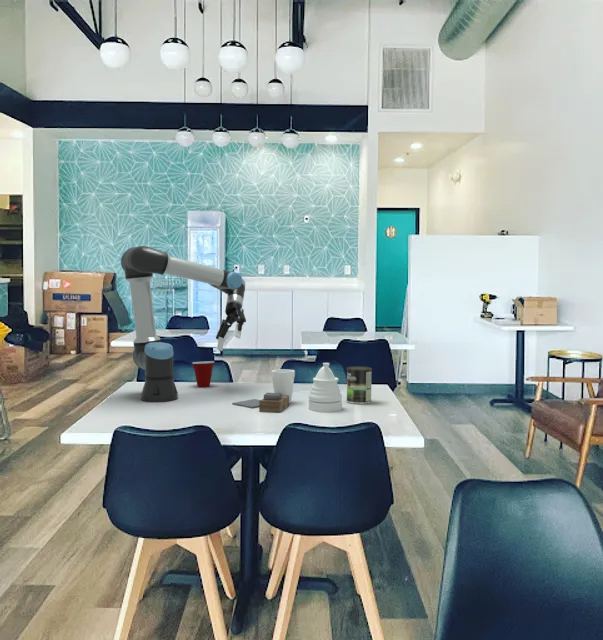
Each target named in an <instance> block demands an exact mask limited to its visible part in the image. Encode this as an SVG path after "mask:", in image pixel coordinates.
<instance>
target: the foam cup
mask: <svg viewBox="0 0 603 640" xmlns="http://www.w3.org/2000/svg"><path fill="white" fill-rule="evenodd" d="M295 376H296V370H294V369H288V368H287V369H285V368H284V369H282V368H279V369H273V370H271V377H272V378H271V379H272V386H273V393H282V395H287V396H289V404H292V398H293V390H294V382H295Z"/></svg>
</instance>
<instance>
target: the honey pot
mask: <svg viewBox="0 0 603 640" xmlns="http://www.w3.org/2000/svg"><path fill="white" fill-rule="evenodd" d="M339 379H340V378H338V377H336V376H335V375H334V373H333V371H332V369H331V368H330V362H322V367H320V368H319V370H318V371H317V373H316V375H315V377H313V378H312V381H313V383H312V386H311V388H310V392H309V394H308V410H309V411H312V412H319V413H321V412H322V413H333V412H339V411H342V408H343V403H342V402H343V401H342V398H343V397H342V394H341V389H340V386H339V384H338V382H339Z"/></svg>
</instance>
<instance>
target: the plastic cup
mask: <svg viewBox="0 0 603 640" xmlns="http://www.w3.org/2000/svg"><path fill="white" fill-rule="evenodd" d="M214 364H215V361H214V360H211V361H208V360H207V361H193V362H191V365H192V367H193V371H194V376H195V380H196V385H197V387H198V388H207V387H210V386H211V379H212V376H213V375H212V373H213V368H214Z"/></svg>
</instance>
